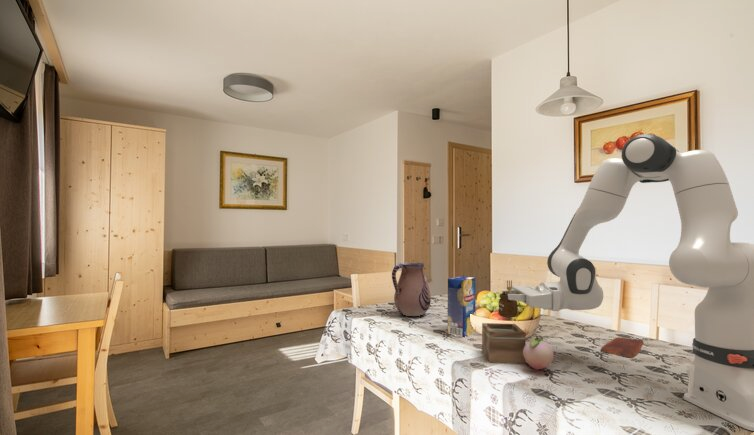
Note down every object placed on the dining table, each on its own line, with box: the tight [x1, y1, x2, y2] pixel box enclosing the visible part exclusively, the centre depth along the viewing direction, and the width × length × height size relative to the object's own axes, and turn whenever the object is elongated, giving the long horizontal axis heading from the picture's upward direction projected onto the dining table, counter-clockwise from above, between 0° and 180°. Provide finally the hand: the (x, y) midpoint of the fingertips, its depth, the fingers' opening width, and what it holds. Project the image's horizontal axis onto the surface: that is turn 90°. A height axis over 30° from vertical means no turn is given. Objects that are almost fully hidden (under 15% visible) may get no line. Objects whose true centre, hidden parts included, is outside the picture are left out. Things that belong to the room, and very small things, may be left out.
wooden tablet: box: [600, 336, 644, 359], centre depth 134 cm, size 27×10×2 cm, turn 136°
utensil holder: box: [498, 279, 519, 318], centre depth 123 cm, size 6×6×12 cm
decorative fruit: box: [523, 335, 555, 371], centre depth 111 cm, size 9×8×10 cm
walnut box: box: [481, 322, 527, 364], centre depth 122 cm, size 11×11×10 cm
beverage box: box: [447, 275, 476, 338], centre depth 150 cm, size 7×11×22 cm, turn 141°
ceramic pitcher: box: [391, 261, 432, 317], centre depth 179 cm, size 18×21×25 cm
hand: (505, 295), depth 123 cm, fingers closed on utensil holder, 5 cm apart
